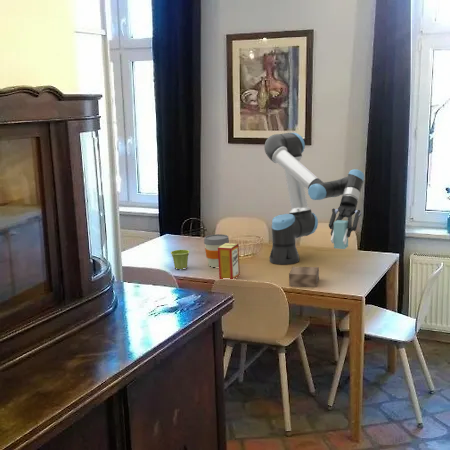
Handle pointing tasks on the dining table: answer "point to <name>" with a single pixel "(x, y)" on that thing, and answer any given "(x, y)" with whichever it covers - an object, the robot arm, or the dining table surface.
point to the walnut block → (304, 276)
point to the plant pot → (180, 258)
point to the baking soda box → (228, 260)
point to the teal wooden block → (340, 234)
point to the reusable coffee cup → (214, 247)
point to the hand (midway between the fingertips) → (338, 242)
